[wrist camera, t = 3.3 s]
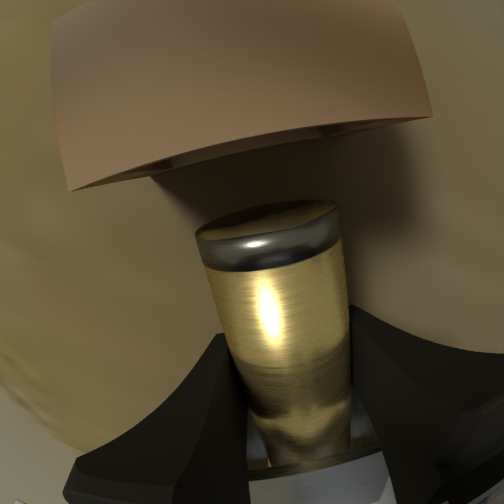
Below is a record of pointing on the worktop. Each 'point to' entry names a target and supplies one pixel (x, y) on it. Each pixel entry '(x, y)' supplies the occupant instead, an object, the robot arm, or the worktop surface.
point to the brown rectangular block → (222, 79)
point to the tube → (286, 322)
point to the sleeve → (321, 469)
